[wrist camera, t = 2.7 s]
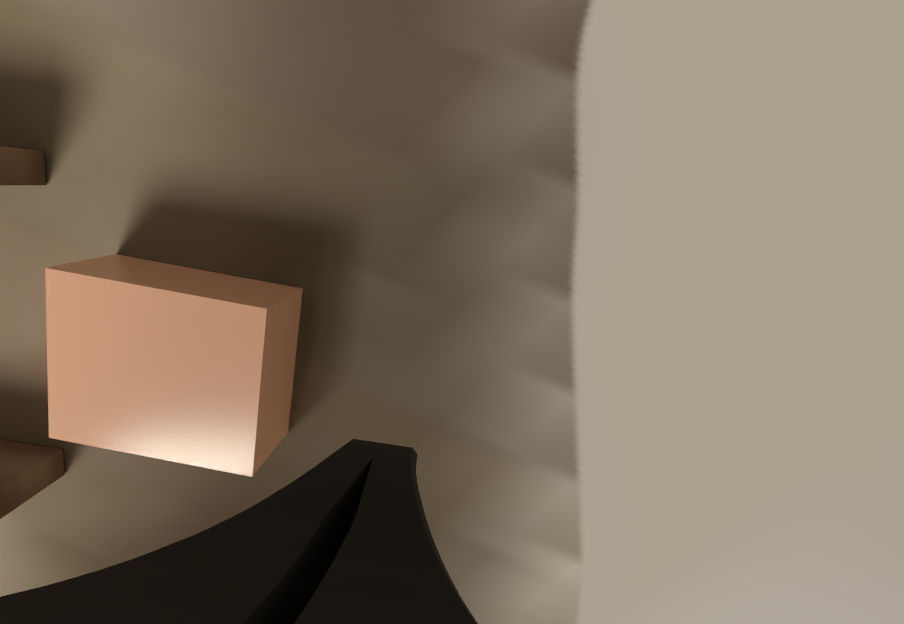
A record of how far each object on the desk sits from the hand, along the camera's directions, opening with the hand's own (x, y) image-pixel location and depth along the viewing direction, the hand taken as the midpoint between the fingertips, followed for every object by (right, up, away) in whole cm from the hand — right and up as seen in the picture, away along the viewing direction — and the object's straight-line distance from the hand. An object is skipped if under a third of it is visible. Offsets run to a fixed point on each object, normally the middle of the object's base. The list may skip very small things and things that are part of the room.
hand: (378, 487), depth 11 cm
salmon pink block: (-7, +3, +7) cm, 10 cm away
